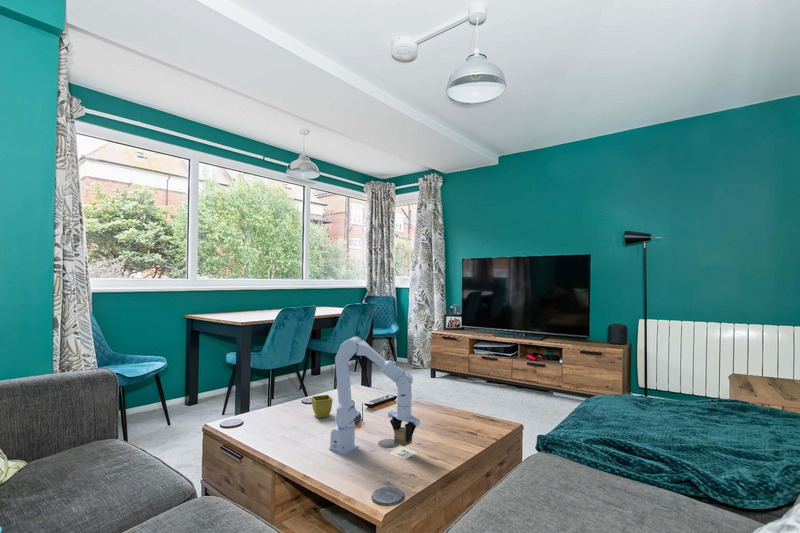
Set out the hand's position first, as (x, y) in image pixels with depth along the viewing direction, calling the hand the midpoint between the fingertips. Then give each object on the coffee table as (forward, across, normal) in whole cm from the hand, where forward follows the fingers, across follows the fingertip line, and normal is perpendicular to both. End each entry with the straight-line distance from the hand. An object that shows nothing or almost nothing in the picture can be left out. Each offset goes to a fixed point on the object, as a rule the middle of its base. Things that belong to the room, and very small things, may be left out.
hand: (403, 439), depth 156 cm
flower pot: (+6, +57, -7) cm, 58 cm away
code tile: (+6, 0, 0) cm, 6 cm away
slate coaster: (+6, +10, -3) cm, 12 cm away
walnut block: (+1, 0, 0) cm, 1 cm away
